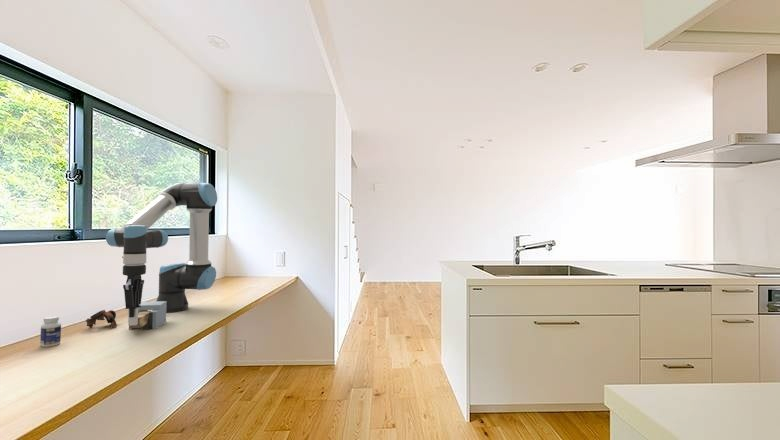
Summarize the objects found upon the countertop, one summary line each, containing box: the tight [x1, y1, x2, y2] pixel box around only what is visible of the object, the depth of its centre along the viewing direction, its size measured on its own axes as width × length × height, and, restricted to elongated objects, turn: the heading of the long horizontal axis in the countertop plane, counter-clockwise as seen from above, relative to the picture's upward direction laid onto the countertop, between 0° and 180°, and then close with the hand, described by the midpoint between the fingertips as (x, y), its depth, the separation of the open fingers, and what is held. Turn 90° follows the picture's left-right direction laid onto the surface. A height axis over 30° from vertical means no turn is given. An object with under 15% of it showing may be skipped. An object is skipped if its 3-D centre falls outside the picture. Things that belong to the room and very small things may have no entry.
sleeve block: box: [128, 301, 167, 331], centre depth 161 cm, size 12×10×9 cm
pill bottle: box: [39, 315, 62, 348], centre depth 134 cm, size 5×5×10 cm
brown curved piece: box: [85, 309, 118, 329], centre depth 157 cm, size 12×10×8 cm
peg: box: [128, 310, 152, 329], centre depth 154 cm, size 12×4×4 cm, turn 13°
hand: (132, 324), depth 146 cm, fingers closed
